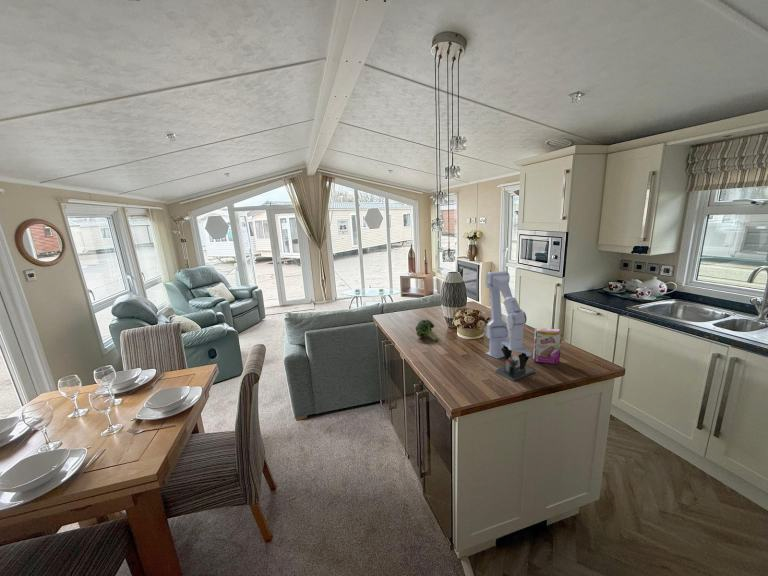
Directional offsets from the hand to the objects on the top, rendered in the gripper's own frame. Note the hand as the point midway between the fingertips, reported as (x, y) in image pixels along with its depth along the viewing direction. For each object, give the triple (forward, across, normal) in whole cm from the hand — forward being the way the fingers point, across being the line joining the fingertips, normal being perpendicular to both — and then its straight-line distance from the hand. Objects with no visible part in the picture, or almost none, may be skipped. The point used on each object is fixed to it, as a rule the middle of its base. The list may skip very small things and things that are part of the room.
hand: (515, 365), depth 143 cm
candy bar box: (+4, +1, +21) cm, 21 cm away
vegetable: (+4, -59, -7) cm, 59 cm away
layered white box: (+2, 0, 0) cm, 2 cm away
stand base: (+3, 0, 0) cm, 3 cm away
